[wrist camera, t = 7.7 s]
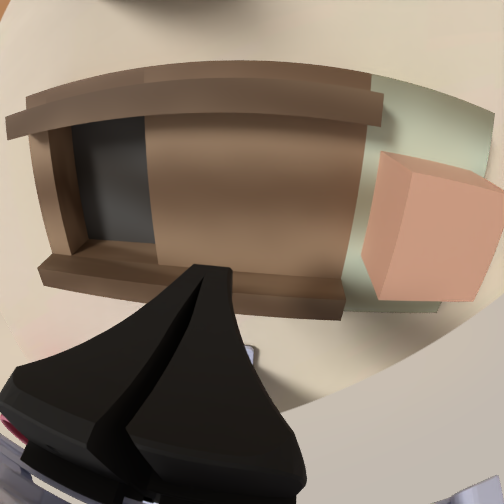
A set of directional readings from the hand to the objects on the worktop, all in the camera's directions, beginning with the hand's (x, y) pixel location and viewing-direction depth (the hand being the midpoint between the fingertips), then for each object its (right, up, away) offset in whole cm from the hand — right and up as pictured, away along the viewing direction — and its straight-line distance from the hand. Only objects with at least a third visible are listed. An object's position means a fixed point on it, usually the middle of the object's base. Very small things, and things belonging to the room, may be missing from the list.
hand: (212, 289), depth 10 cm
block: (+11, +4, +4) cm, 12 cm away
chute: (+1, +6, +8) cm, 9 cm away
